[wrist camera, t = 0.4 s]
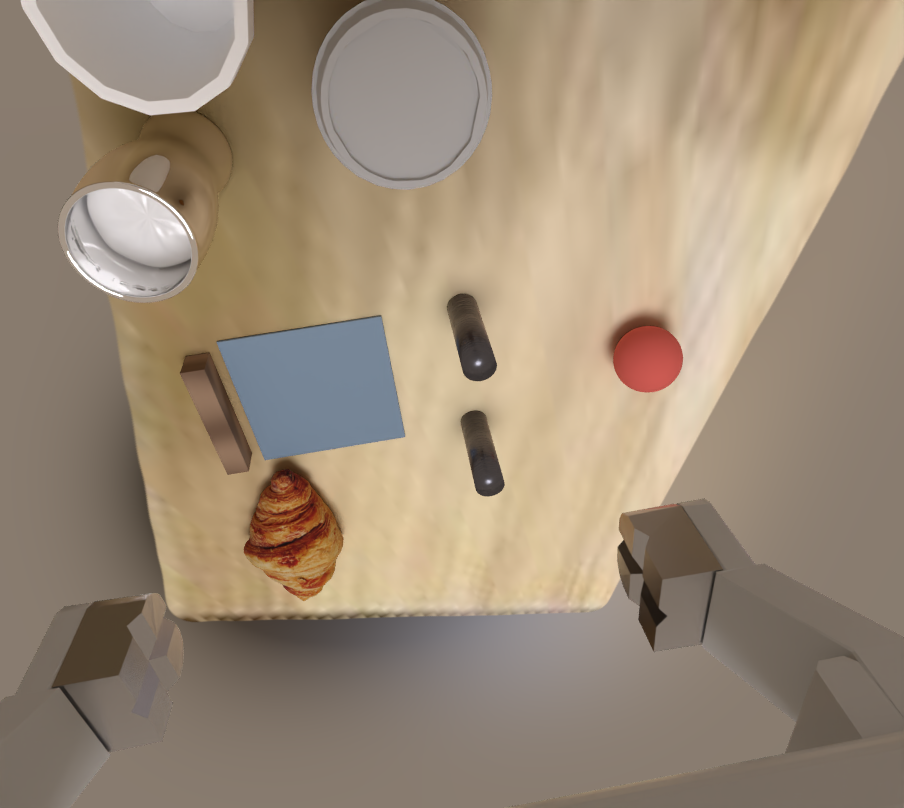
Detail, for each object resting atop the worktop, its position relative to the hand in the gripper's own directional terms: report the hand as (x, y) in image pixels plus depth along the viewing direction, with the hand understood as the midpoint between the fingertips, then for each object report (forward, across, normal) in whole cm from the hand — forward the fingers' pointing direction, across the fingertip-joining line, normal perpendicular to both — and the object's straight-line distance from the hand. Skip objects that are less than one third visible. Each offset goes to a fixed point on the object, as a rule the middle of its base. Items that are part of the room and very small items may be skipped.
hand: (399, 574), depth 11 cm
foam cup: (+39, +8, -11) cm, 41 cm away
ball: (+39, -22, +20) cm, 49 cm away
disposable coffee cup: (+40, -3, -5) cm, 40 cm away
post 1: (+42, -6, +14) cm, 44 cm away
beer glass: (+40, +12, -1) cm, 42 cm away
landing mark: (+42, +8, +21) cm, 48 cm away
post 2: (+43, -6, +27) cm, 51 cm away
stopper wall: (+42, +17, +21) cm, 50 cm away
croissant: (+45, +15, +38) cm, 61 cm away
